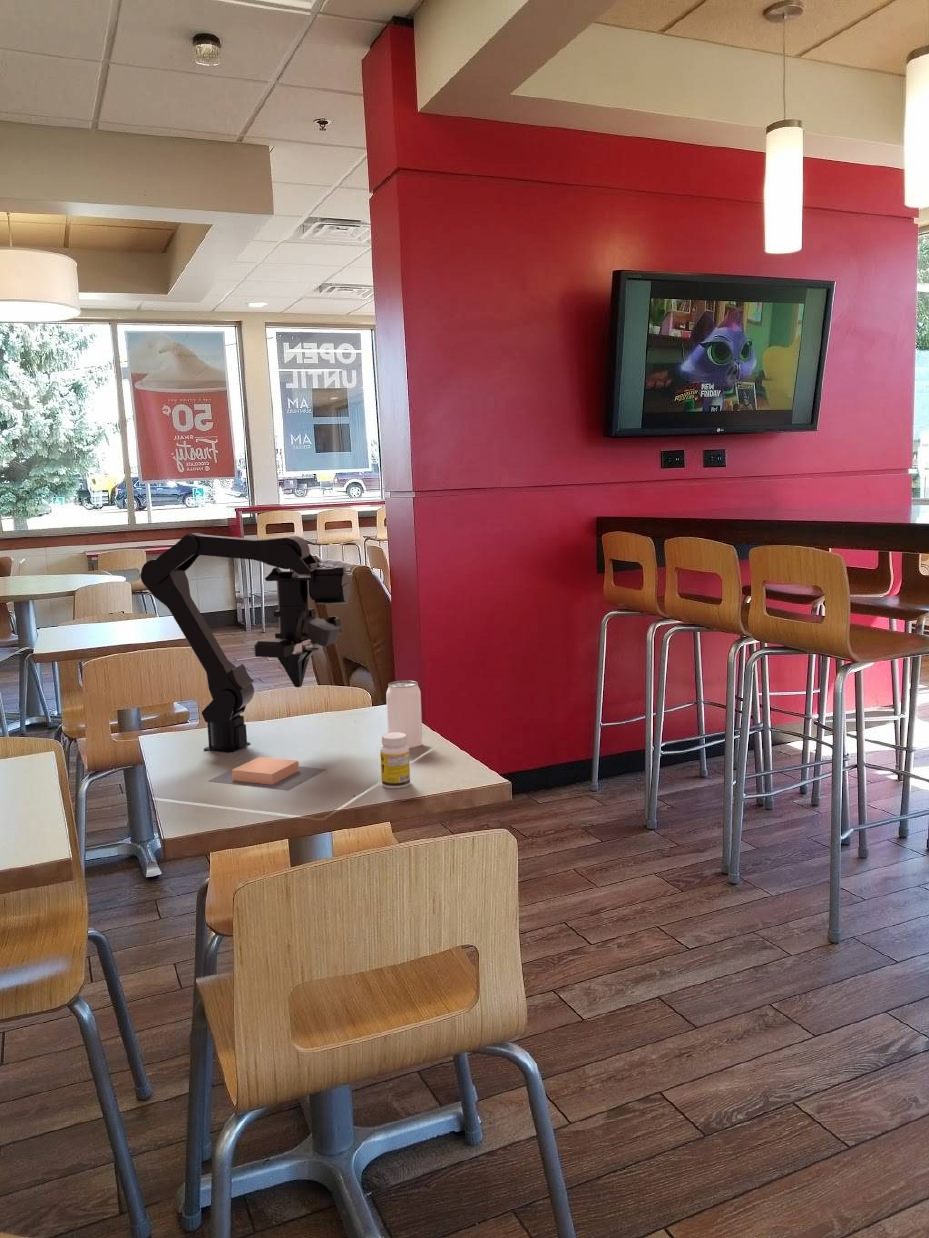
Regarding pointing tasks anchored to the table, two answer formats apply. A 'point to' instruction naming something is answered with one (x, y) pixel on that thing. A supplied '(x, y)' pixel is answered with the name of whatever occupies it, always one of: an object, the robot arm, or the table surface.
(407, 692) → the can
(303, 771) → the mat
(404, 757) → the supplement bottle
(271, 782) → the tile
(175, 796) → the table surface
